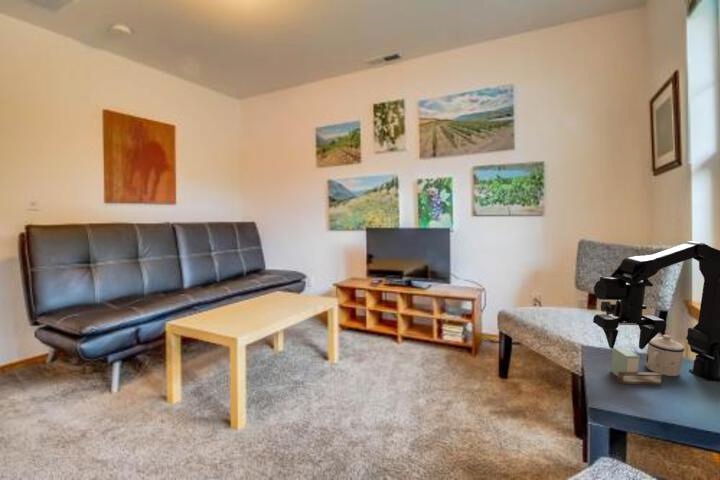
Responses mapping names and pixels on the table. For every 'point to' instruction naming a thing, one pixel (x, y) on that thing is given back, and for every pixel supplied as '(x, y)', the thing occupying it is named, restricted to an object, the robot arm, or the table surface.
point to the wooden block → (639, 378)
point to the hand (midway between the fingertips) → (625, 348)
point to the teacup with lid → (664, 356)
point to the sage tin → (624, 361)
